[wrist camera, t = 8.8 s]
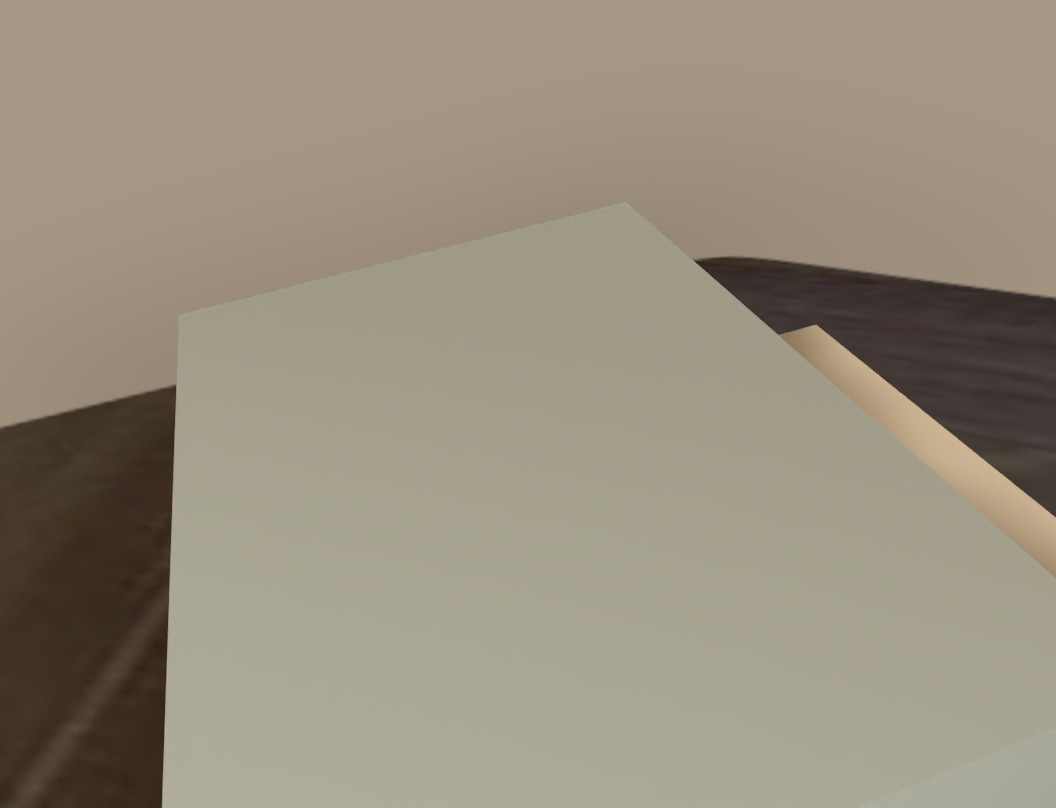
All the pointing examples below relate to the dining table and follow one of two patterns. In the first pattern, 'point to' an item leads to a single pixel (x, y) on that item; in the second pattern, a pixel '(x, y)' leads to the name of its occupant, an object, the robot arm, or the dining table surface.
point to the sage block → (574, 555)
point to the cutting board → (933, 445)
